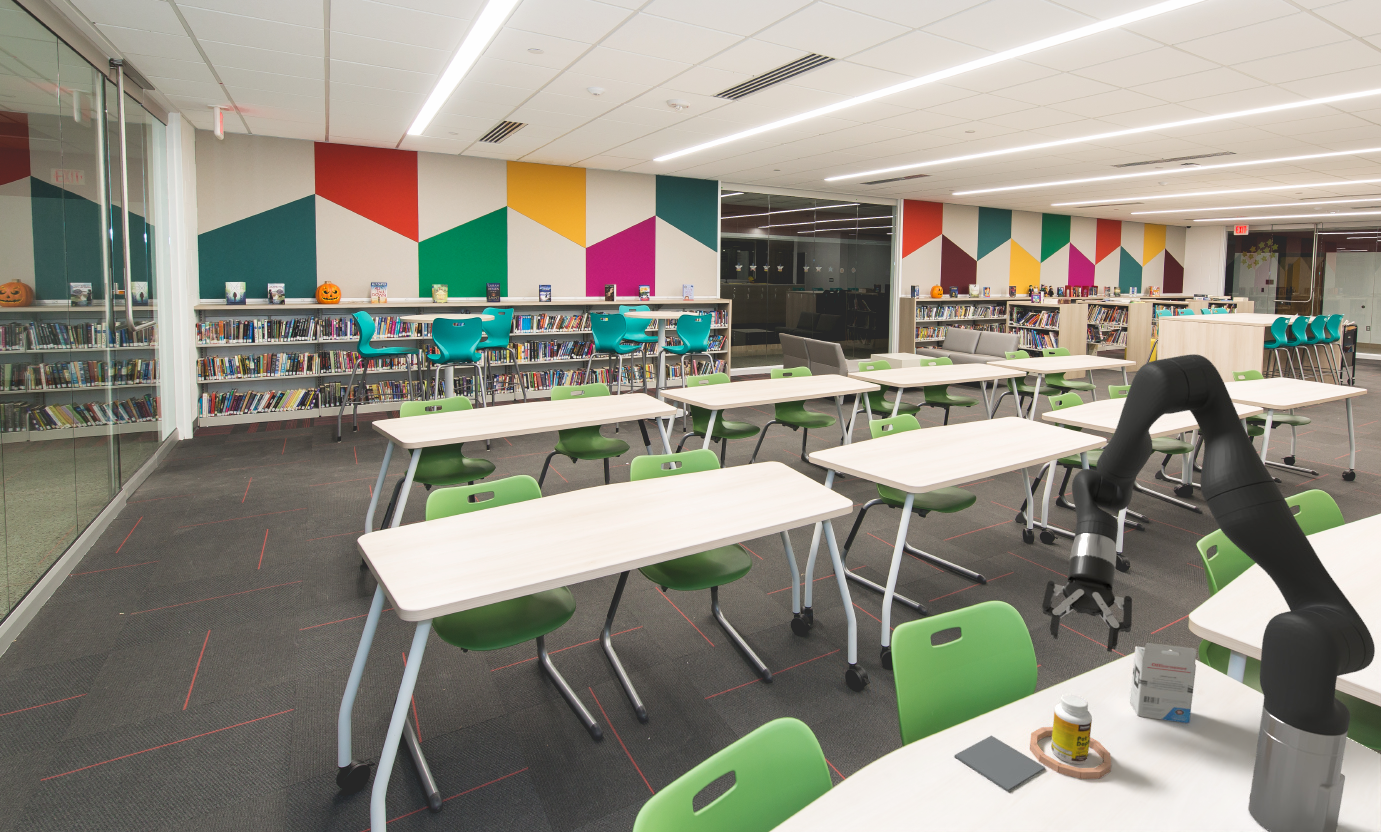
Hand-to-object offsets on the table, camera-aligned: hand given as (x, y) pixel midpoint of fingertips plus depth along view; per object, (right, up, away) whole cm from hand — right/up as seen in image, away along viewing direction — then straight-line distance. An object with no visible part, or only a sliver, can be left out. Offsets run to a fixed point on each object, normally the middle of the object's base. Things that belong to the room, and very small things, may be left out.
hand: (1082, 643), depth 126 cm
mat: (-19, -17, -9) cm, 27 cm away
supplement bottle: (-6, -17, -7) cm, 19 cm away
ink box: (+17, -15, +5) cm, 23 cm away
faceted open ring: (-6, -17, -7) cm, 19 cm away
